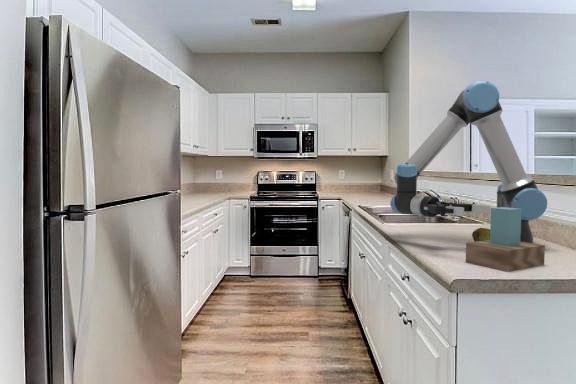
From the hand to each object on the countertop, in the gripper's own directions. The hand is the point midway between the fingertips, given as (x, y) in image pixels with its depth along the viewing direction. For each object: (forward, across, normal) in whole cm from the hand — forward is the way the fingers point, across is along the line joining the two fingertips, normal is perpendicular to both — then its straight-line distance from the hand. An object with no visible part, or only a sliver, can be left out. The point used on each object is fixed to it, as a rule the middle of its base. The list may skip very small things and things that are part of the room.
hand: (476, 210), depth 142 cm
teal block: (+11, +1, -9) cm, 14 cm away
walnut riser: (+11, +1, -15) cm, 19 cm away
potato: (-4, -14, -16) cm, 22 cm away
